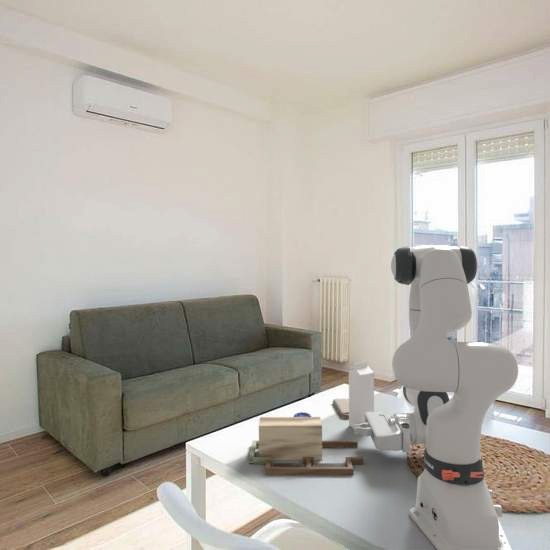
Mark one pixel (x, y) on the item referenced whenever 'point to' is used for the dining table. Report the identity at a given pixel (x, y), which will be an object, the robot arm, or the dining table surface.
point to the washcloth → (342, 407)
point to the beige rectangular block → (290, 438)
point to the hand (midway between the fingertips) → (353, 429)
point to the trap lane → (309, 462)
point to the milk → (360, 392)
